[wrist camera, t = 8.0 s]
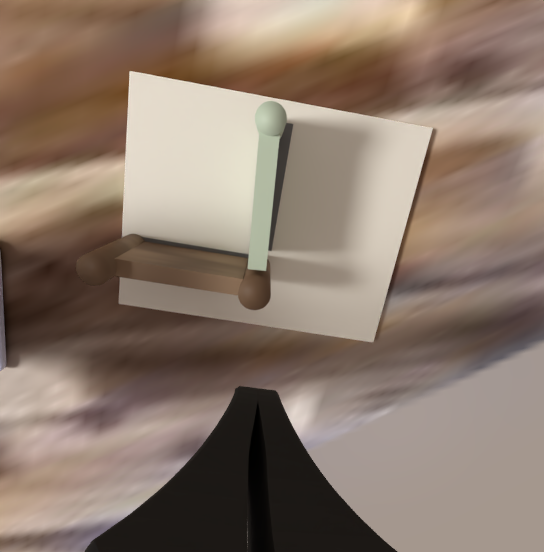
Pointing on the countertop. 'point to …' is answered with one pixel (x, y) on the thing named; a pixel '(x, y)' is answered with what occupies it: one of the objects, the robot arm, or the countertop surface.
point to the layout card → (286, 203)
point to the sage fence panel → (265, 180)
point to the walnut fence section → (176, 269)
